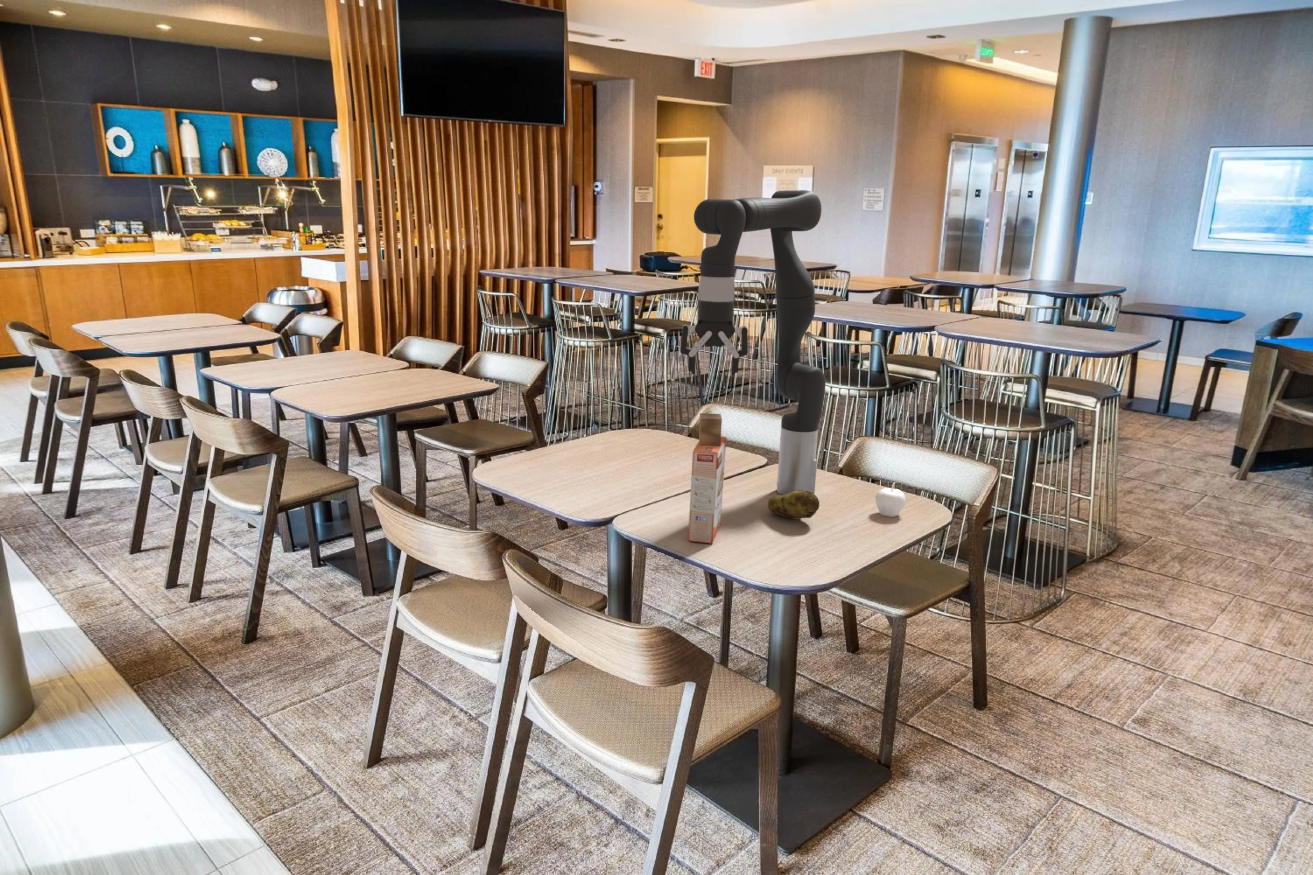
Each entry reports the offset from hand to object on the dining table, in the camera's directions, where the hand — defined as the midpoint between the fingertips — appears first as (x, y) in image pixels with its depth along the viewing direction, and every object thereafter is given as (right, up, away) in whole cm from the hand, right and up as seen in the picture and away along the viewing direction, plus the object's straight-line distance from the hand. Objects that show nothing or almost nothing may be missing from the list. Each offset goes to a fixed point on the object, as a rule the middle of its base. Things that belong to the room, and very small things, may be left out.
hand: (712, 374), depth 186 cm
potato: (+20, -33, +19) cm, 43 cm away
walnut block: (0, -15, +4) cm, 15 cm away
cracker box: (-1, -35, +9) cm, 36 cm away
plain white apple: (+44, -32, +24) cm, 60 cm away
